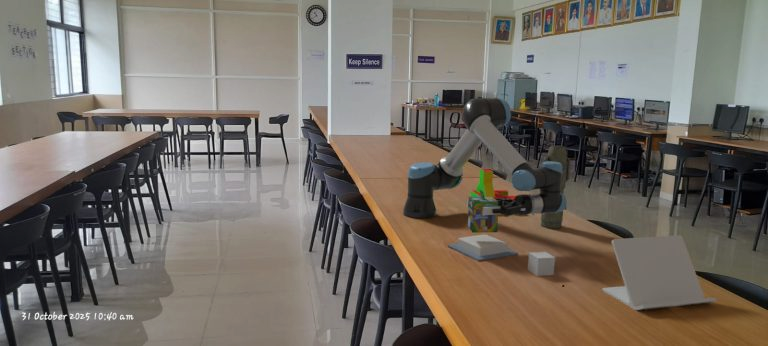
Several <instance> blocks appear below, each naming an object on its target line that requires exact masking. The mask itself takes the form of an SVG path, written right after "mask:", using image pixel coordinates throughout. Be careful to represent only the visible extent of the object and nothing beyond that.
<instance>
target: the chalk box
mask: <svg viewBox="0 0 768 346" xmlns="http://www.w3.org/2000/svg"><path fill="white" fill-rule="evenodd" d="M480 194H481V196H478V197H471V196H469V197H468V200H469V208H468V209H467V210H468V211H467V213H468V214H467V227H468V228H469V230H470V232H471V233H473V234H474V233H498V223H499V222H498V220H499V215H498V214H495V215H483V207H496V206H498V201H497V200H496V199H494V198H493V197H484V193H483V191H482V190H481V189H480ZM482 195H483V196H482Z"/></svg>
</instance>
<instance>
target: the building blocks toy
mask: <svg viewBox="0 0 768 346" xmlns="http://www.w3.org/2000/svg"><path fill="white" fill-rule="evenodd" d="M493 179H494V171H493V170H492V169H487V168H486V169H483V168H482V169H481V168H480V169H479V181H478V183H477V186H476V188H475V189H474V190H473V189H471V190H470V197H478V196H481V194H480V189H481V190H482V191H483V193H484V197H493V198H507V199H513V200H514V198H515V197H516V196H517V195H509V190H507V189H504V190H503V189H501V190H499V189H497V190H496V189H494V183H493ZM482 196H483V195H482ZM500 209H501V208H500ZM499 215H500V216H501V215H502V214H501V213H500V214H498V216H499ZM502 216H503V215H502Z"/></svg>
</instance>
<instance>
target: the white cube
mask: <svg viewBox="0 0 768 346" xmlns="http://www.w3.org/2000/svg"><path fill="white" fill-rule="evenodd" d="M555 261H556V257H555V256H553V255H551V254H550V253H548V252H547V251H533V252H532V251H531V252H530V251H529V252H528V261H527V270H528V271H529V272H530V273H532V274H534V275H535V276H536V277H539V276H553V275H554V273H555V272H554V271H555Z"/></svg>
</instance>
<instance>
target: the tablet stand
mask: <svg viewBox="0 0 768 346" xmlns="http://www.w3.org/2000/svg"><path fill="white" fill-rule="evenodd" d="M611 244H612V248H613V251H614V254H615V259H616V262H617V265H618V267H619V271H620V273H621V277H622V281H623V284H624V285H623V286H611V287H602V290H603V291H604V293H605V294H607V295H609V296H610V295H611V296H610V297H612V298H614V299H615V298H616V300H617V299H618V300H617V301H619V300H620V301H619V302H621V303H622V302H623V304H624V305H626V306H627V305H628V306H627V307H629V306H630V307H629V308H631V309H633V310H634V309H635V311H642V310H643V309H644V310H652V309H662V308H671V307H680V306H683V307H684V306H690V305H691V306H692V304H693V305H700V304H702V303H703V304H709V303H712V302H713V303H715V302H717V298H716V297H707V298H706V297H705V295H704V291H703V290H702V287H701V283H700V281H699V277H698V275H697V273H696V271H695V267H694V265H693V261H692V259H691V257H690V254H689V250H688V248H687V245H686V243H685V240H684V238H683V235H681V234H678V235H677V234H676V235H661V236H659V235H658V236H647V237H646V236H644V237H629V238H628V237H627V238H614V239H612V240H611ZM602 290H601V291H602ZM603 291H602V292H603ZM644 310H643V311H644Z"/></svg>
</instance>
